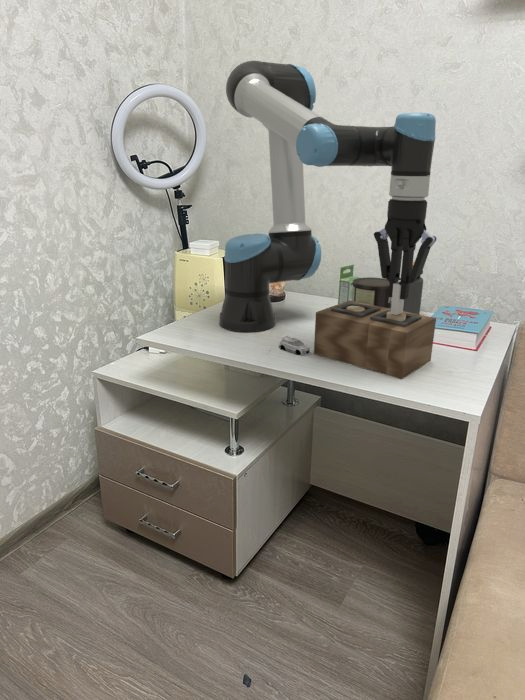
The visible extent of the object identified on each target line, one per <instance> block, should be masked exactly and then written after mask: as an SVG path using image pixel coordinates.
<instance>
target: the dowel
mask: <svg viewBox="0 0 525 700" xmlns="http://www.w3.org/2000/svg"><path fill="white" fill-rule="evenodd" d="M386 318H387V319H392V320H396V321H401V322H402V321H404V320H406V314H405V313H400V314H398V315H394V314H391V312H387V317H386Z"/></svg>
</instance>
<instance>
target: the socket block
mask: <svg viewBox="0 0 525 700" xmlns="http://www.w3.org/2000/svg"><path fill="white" fill-rule="evenodd" d="M387 312H391V309H389V308H384V307H379V306H375V305H370V304H365V303H360V302H355V301H350V300H349V301H346V302H343V303H340V304H338V303H337V304H335V305H332V306H329V307H327V308H324V309H320V310H318V311H315V322H314V323H315V324H314V325H315V326H314V345H313V347H314V348H313V355H316V356H320V357H323V358H327V359H330V360H334V361H337V362H340V363H344V364H347V365H351V366H354V367H358V368H362V369H364V370H365V369H366V370H369V371H372V372H375V373H378V374H383V375H386V376H390V377H393V378H396V379H400V380H403V379H405V378H406V377H409V375H410V374H413V373H414V372H416V371H417V370H419V369H421V368H422V367H423V366H425V365H427V364H428V363H430V362H431V360H432V352H433V348H434V347H433V345H434V338H435V330H436V321H437V317H432V316H427V315H424V314H414V313H409V312H404V311H403V313H405V314H406V320H404V321H402V322H401V321H396V320H392V319H387V318H386V317H387Z"/></svg>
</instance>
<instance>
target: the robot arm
mask: <svg viewBox="0 0 525 700" xmlns="http://www.w3.org/2000/svg"><path fill="white" fill-rule="evenodd" d="M316 90H317V89H316V84H315V82H314V78H313V76H312V75H311V73H310V72H309V71H308V70H307V69H306V68H305V67H304V66H303V67H302V66H300V65H295V64H293V63H277V62H275V63H274V62H268V61H259V60H249V61H245V62H242V63H240V64H239V65H237V66H235V67H234V68H233V69H232V71H231V72H230V74H229V76H228V78H227V80H226V85H225V92H226V93H225V94H226V97H227V101H228V102H229V104H230V106H231V107H232V108H233V109H234V110H235V111H236V112H237V113H239V114H240V115H241V116H244V118H245V117H246V118H250V119H251V118H253V119H255V120H257V121H259V122H260V123H261V125H262V126H263V127H265V128H266V130H267V131H268V146H269V150H268V151H269V164H270V165H269V167H270V180H271V181H270V183H271V198H272V200H271V202H272V204H271V205H272V221H273V224H272V227H271V228H270V229H269V230H268V233H267V234H266V233H247V234H242V235H238V236H234V237H232V238H230V239H229V240H228V241H226V243H225V246H224V247H225V248H224V257H223V259H224V260H223V261H224V277H225V278H224V280H225V281H224V283H225V286H224V287H225V290H224V291H225V295H224V299H223V303H222V307H221V312H220V313H219V316H218V317H219V319H218V321H219V326H220V327H221V328H223V329H225V330H229V331H234V332H241V333H242V332H243V333H246V332H247V333H249V332H250V333H251V332H252V333H253V332H255V333H256V332H260V331H261V332H262V331H266V330H270V329H272V328H273V327H275V325H276V314H275V312H274V309H273V304H272V301H271V297H270V284H274V283H283V282H288V281H289V282H290V281H301V280H303V279H304V280H305V279H308V278H311V277H312V276H314V275H315V274H316V272H317V271H318V269H319V267H320V264H321V260H322V247H321V244H320V243H319V240H318V238H316V236H313V235H312V234H313V233H312V228H311V227H310V226H309V225H307V223H306V207H305V204H306V202H305V201H306V200H305V184H304V183H305V180H304V165H306V166H314V167H318V168H322V167H343V166H344V167H347V166H348V167H370V168H371V167H391V171H390V183H389V192H388V195H389V196H390V197H391V198H390V199H389V200H388V204H387V212H386V213H387V214H386V216H387V220H386V223H385V225H384V227H383V228H381V229H380V230H379V231H375V232H374V233H373V238H374V239H375V242H376V244H377V251H378V252H377V253H378V258H379V259H378V261H379V264H380V265H379V267H380V275H381V278H383V279H387V280H388V281H389V282H390V286H389V297H392V304H391V314H394V315H398V314H400V313H403V306H404V300H405V299H407V298H408V295H409V285H410V283H413V282H416V281H418V280H419V279H420V277H421V275H422V274H421V273H422V270H423V271H424V267H425V265H426V261H427V260H428V256H429V254H430V251H431V248H432V247H433V246H434V244H435V242H436V241H437V237H436V236H435V235H431V234H430V233H429V232H428V231H427V225H426V217H427V211H428V210H427V208H428V201H427V200H426V198H428V197H429V192H430V182H431V181H430V180H431V169H432V163H433V162H432V161H433V154H434V147H435V142H436V138H437V137H436V122H437V120H436V117H435V115H434V114H432V113H430V112H429V113H428V112H407V113H406V112H405V113H400V114H398V115H397V116H396V117H395V122H394V124H393V125H394V126H393V125H392V126H361V125H346V124H345V125H344V124H343V125H342V124H335V123H333V122H332V121H329V120H328V119H325V118H324V117H323V116H321V115H319V114H317V113H316V112H314V111H313V109H314V104H315V103H316V97H317V91H316ZM388 238H389V239H390V244H389V240H388ZM420 239H421V241H420ZM419 241H420V243H421V245H420V246H419V249H418V251H417V254H416V257H415V260H414V254H415V251H416V247H417V246H416V245H417V243H418V242H419ZM389 245H390V247H389ZM390 249H391V253H390ZM413 262H415V263H414V266H413ZM412 266H413V269H412Z"/></svg>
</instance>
